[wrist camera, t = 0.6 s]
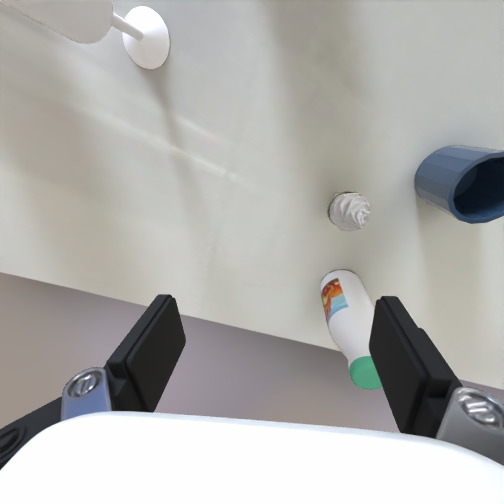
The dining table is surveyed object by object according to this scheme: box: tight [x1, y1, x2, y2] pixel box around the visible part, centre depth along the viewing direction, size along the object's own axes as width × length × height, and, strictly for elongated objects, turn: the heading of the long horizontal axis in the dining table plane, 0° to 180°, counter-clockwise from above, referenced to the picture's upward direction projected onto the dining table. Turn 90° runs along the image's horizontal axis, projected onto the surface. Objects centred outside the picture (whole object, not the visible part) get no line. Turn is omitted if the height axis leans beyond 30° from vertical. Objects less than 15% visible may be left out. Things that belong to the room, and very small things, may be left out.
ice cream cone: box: [327, 191, 371, 231], centre depth 34 cm, size 5×5×15 cm
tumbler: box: [415, 145, 504, 224], centre depth 33 cm, size 8×8×9 cm
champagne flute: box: [0, 0, 170, 69], centre depth 23 cm, size 7×7×24 cm
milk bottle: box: [320, 270, 382, 389], centre depth 39 cm, size 8×8×20 cm
